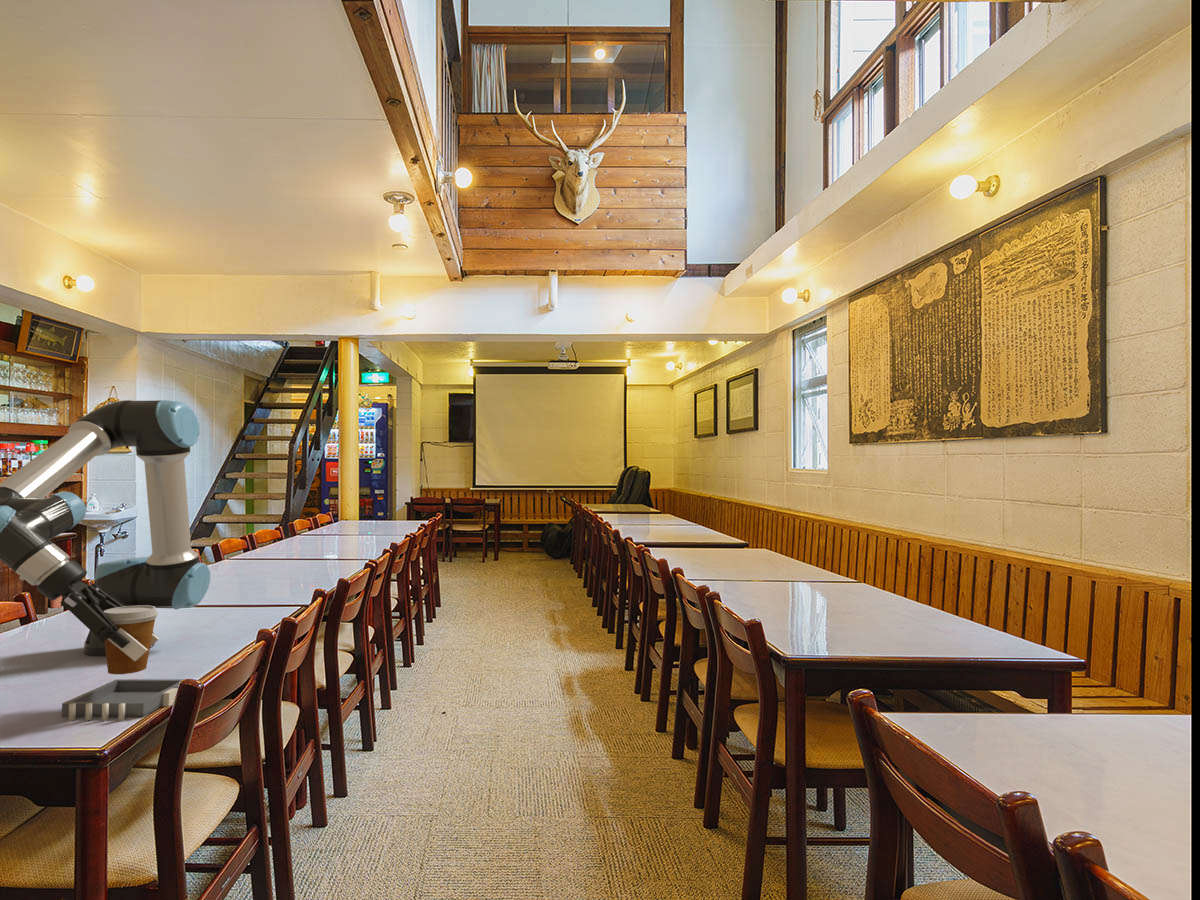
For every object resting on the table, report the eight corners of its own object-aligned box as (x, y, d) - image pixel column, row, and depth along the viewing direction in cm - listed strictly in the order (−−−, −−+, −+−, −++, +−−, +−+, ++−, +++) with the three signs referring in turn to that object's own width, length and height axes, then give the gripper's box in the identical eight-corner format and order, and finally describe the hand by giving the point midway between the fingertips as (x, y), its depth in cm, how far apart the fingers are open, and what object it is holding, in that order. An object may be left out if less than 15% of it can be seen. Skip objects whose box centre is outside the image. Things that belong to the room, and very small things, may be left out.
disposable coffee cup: (116, 664, 140) (119, 605, 140) (165, 663, 140) (168, 604, 141) (85, 677, 130) (88, 614, 131) (138, 676, 131) (141, 613, 131)
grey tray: (115, 691, 143) (116, 677, 143) (194, 691, 143) (194, 677, 143) (53, 721, 126) (53, 704, 126) (142, 721, 126) (143, 704, 126)
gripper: (56, 579, 140) (145, 651, 146) (11, 596, 120) (115, 679, 125) (89, 552, 142) (174, 624, 148) (50, 565, 122) (150, 647, 128)
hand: (147, 649), depth 137 cm, fingers closed on disposable coffee cup, 9 cm apart
